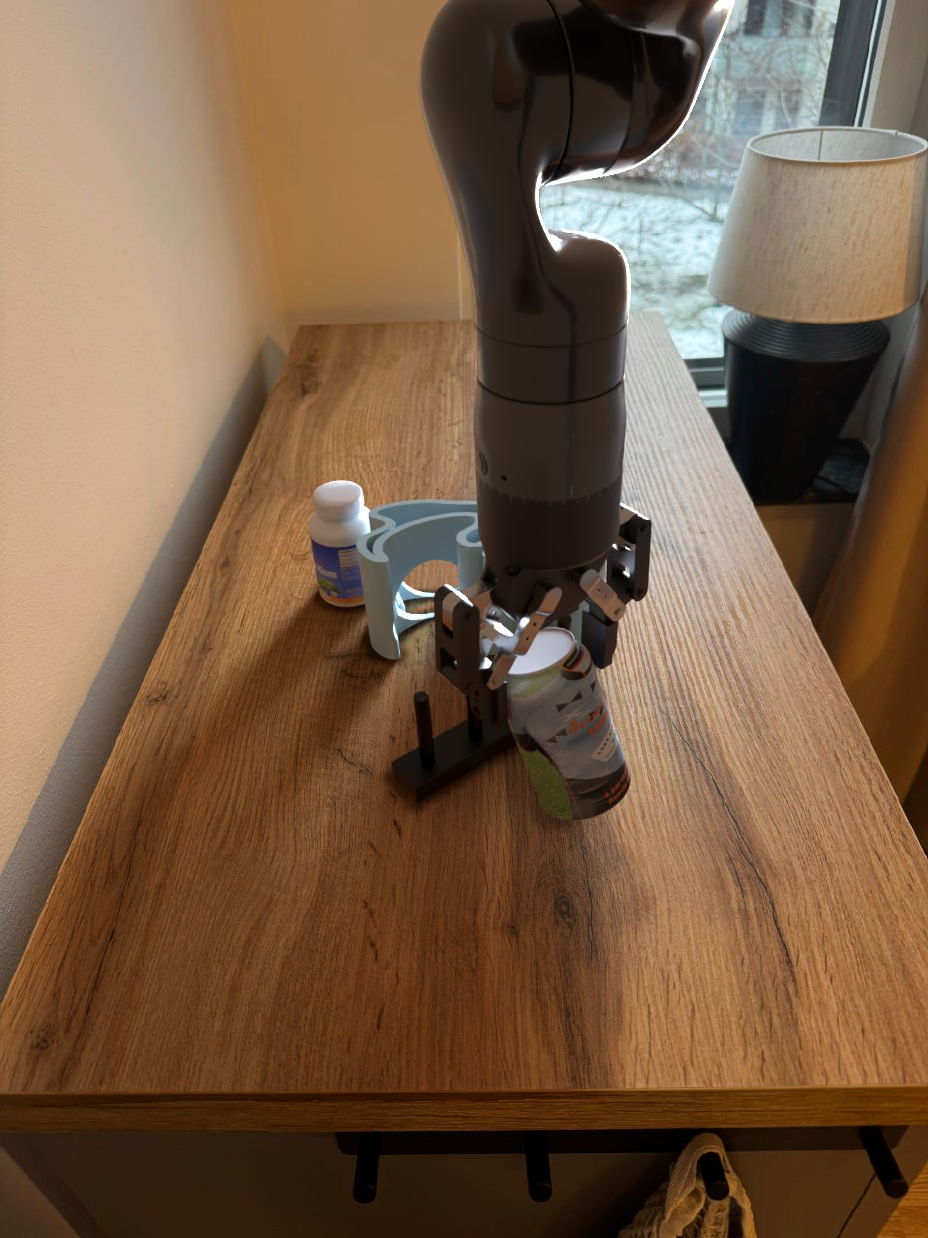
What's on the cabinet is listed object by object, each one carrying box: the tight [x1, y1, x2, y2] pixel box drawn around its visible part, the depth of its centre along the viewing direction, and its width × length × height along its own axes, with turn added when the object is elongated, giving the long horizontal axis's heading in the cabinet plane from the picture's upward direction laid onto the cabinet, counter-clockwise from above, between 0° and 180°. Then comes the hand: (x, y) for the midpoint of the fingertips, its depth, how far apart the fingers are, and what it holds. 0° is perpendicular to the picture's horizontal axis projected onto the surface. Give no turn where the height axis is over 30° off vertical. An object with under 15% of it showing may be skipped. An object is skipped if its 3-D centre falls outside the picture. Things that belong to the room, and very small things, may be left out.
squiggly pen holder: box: [356, 498, 606, 660], centre depth 71 cm, size 18×10×9 cm, turn 92°
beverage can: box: [504, 627, 632, 821], centre depth 57 cm, size 6×7×12 cm
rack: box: [390, 615, 572, 804], centre depth 63 cm, size 3×16×8 cm, turn 127°
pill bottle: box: [307, 480, 371, 608], centre depth 76 cm, size 5×5×10 cm
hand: (546, 689), depth 57 cm, fingers open, 8 cm apart
